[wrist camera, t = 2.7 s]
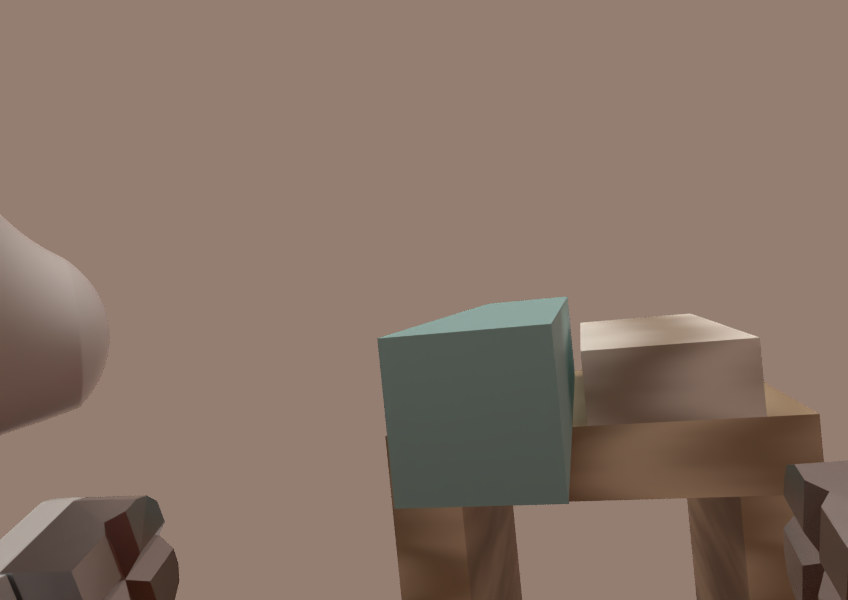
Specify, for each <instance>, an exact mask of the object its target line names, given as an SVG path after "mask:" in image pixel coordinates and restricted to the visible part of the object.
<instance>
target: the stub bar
mask: <svg viewBox="0 0 848 600" xmlns="http://www.w3.org/2000/svg"><path fill="white" fill-rule="evenodd" d="M378 349H379V359H380V368H381V378H382V388H383V398H384V408H385V418H386V428H387V438H388V448H389V458H390V468H391V478H392V488H393V498H394V508H395V509H402V508H437V507H473V506H509V505H544V504H569V487H570V467H571V447H572V427H573V407H574V387H575V370H574V360H573V350H572V340H571V329H570V319H569V308H568V299H567V297H557V298H547V299H536V300H525V301H515V302H504V303H493V304H486V305H483V306H480V307H477V308H474V309H470V310H467V311H464V312H461V313H458V314H455V315H451V316H448V317H445V318H442V319H438V320H435V321H432V322H429V323H426V324H422V325H419V326H416V327H413V328H409V329H406V330H403V331H400V332H397V333H393V334H390V335H387V336H384V337H381V338H378Z"/></svg>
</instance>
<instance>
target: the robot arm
mask: <svg viewBox="0 0 848 600" xmlns="http://www.w3.org/2000/svg"><path fill="white" fill-rule="evenodd" d="M108 350H109V326H108V320H107V315H106V312H105V309H104V307H103V304H102V301H101V299H100V297H99V295H98V294H97V292H96V290H95V289H94V287H93V286H92V284H91V283H90V282H89V280H88V279H87V278H86V277H85V276H84V275H83V274H82V273H81V272H80V271H79V270H78V269H77V268H76V267H75V266H74V265H72V264H71V263H70V262H68V261H67V260H65V259H64V258H62V257H61V256H58V255H56V254H54V253H52V252H51V251H48V250H47V249H45V248H43V247H41V246H40V245H38V244H37V243H35V242H33V241H32V240H30V239H29V238H27V237H26V236H25V235H23V234H22V233H21V232H20V231H18V230H17V229H16V228H15V227H14V226H12V225H11V224H10V223H9V222H8V221H7V220H6V219H5V218H4V217H3V216H2V215H1V214H0V435H2V434H5V433H8V432H11V431H14V430H17V429H20V428H23V427H26V426H29V425H32V424H35V423H38V422H41V421H44V420H47V419H49V418H52V417H54V416H57V415H60V414H63V413H66V412H68V411H71V410H74V409H77V408H78V407H80V406H81V405H82V404H83V402H84V401H85V400H86V399H87V398H88V397H89V395H90V394H91V392H92V391H93V390H94V388H95V386H96V385H97V383H98V381H99V379H100V377H101V375H102V372H103V370H104V367H105V364H106V360H107V356H108ZM784 497H785V499H786V501H787V503H788V505H789V506H790V508H791V510H792V512H793V514H794V516H793V517H792V519H791V520H790V521H789V522H788V523H787V524H786V525H785V527H784V528H783V532H784V555H785V561H786V567H787V573H788V578H789V581H790V584H791V587H792V590H793V593H794V596H795V598H796V600H848V461H833V462H819V463H805V464H790V465H787V466H786V471H785V475H784ZM164 522H165V521H164V519H163V516H162V513H161V510H160V508H159V505H158V503H157V501H156V500H154V499H152V498H150V497H148V496H113V497H85V498H81V497H74V498H60V499H52V500H48V501H44V502H42V503H41V504H39V505H38V506H37V507H36V508H35V509H34V510H33V511H32V512H31V513H29V514H28V515H27V516H26V517H25V518H24V519H23V520H22V521H21V522H19V523H18V524H17V525H16V526H15V527H14V528H13V529H12V530H11V531H10V532H8V533H7V534H6V535H5V536H4V537H3V538H2V539H1V540H0V600H175V596H176V592H177V588H178V584H179V569H178V561H177V558H176V555H175V552H174V549H173V548H172V547H171V546H170V545H169V544H168V543H167V542H166V541H165V540H164V539H163V538H161V537H160V536H159V534H160V532H161V529H162V527H163V524H164Z"/></svg>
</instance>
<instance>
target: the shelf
mask: <svg viewBox="0 0 848 600" xmlns="http://www.w3.org/2000/svg"><path fill="white" fill-rule="evenodd" d="M580 329H581V331H580V334H581V360H582V370H577V371H575V387H574V407H573V427H572V447H571V467H570V487H569V501H603V500H636V499H637V500H639V499H671V498H673V499H674V498H687V500H688V512H689V522H690V531H691V532H690V533H691V544H692V554H693V565H694V575H695V586H696V596H697V600H796V598H795V596H794V593H793V590H792V587H791V584H790V581H789V578H788V573H787V567H786V561H785V555H784V532H783V528H784V527H785V525H786V524H787V523H788V522H789V521H790V520H791V519H792V517H793V516H794V514H793V512H792V510H791V508H790V506H789V505H788V503H787V501H786V499H785V497H784V475H785V471H786V466H787V465H790V464H805V463H819V462H824V459H823V449H822V437H821V426H820V415H819V413H817V412H815V411H813V410H812V409H810V408H808V407H807V406H805V405H803V404H801V403H799V402H798V401H796V400H794V399H793V398H791V397H789V396H788V395H786V394H784V393H782V392H781V391H779V390H777V389H775V388H774V387H772V386H770V385H768V384H767V383H765V382H764V379H763V368H762V358H761V347H760V338H759V337H756V336H754V335H751V334H748V333H745V332H742V331H739V330H736V329H734V328H731V327H728V326H725V325H722V324H719V323H716V322H713V321H710V320H707V319H704V318H702V317H699V316H696V315H693V314H680V315H668V316H656V317H644V318H632V319H621V320H610V321H598V322H597V321H596V322H585V323H580ZM386 447H387V456H388V467H389V476H390V486H391V495H392V496H391V497H392V506H393V516H394V526H395V536H396V546H397V556H398V567H399V576H400V587H401V597H402V600H522V594H521V584H520V574H519V564H518V553H517V544H516V533H515V524H514V513H513V505H509V506H473V507H437V508H402V509H395V508H394V498H393V488H392V478H391V468H390V458H389V448H388V438H387V436H386Z"/></svg>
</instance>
